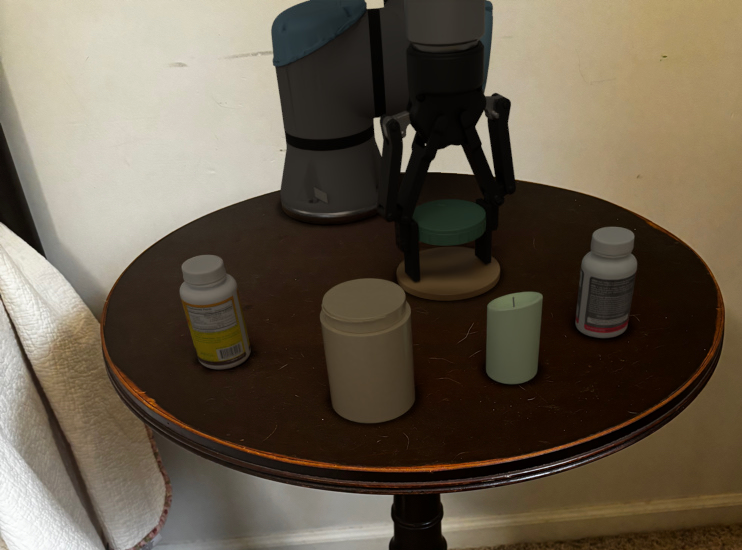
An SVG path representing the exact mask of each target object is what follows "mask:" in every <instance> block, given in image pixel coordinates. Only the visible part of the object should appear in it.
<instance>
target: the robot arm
mask: <svg viewBox="0 0 742 550" xmlns="http://www.w3.org/2000/svg"><path fill="white" fill-rule="evenodd" d="M382 2H383V6H382V7H375V8H367V7H368V6H367V5H368V4H367V2H366V0H305V1H302V2H300V3H297V4H295V5H292V6H290V7H288V8H285V9H284V10H283V11H282V12H280V13H279V14H278V15H277V16H276V17H275V18H274V20H273V22H272V25H271V28H270V36H271V44H272V55H273V57H272V65H273V67H274V69H275V75H276V81H277V88H278V96H279V102H280V110H281V116H282V117H281V118H282V123H283V130H284V137H285V144H286V146H285V147H286V149H285V155H284V156H285V157H284V163H283V170H282V176H281V183H280V190H279V191H280V192H279V193H280V195H279V196H280V203H281V209H282V212H284V214H286V215H287V216H288V217H290V218H292V219H294V220H297V221H300V222H304V223H309V224H315V225H316V224H317V225H335V224H336V225H338V224H347V223H353V222H357V221H362V220H365V219H368V218H371V217H373V216H376V215H379V216H380V217H381V218H382V219H383V220H384V221H386V223H394V234H395V235H394V236H395V245H396V248H397V249H398V250H399V251H400V252H402V253H403V260H404V265H405V273H406V274H407V275H408V276H409V277H410V278H411V279H412V280H413V281H414V282H416V281H420V257H419V252H420V241H419V232H418V223H417V222H416V221H415V220H414V219H413V218H412V216H413V213H414V210H415V208H416V207H417V206H418V205H417V204H418V201H419V198H420V196H421V193H422V190H423V187H424V184H425V180H426V178H427V176H428V172H429V169H430V166H431V163H432V162H433V161H434V160H435V159H436V156H437V153H438V151H439V150H440V151H441V150H444V149H445V148H447V147H450V146H456V147H458V146H461V149H462V150H463V152H464V155H465V157H466V160H467V162H468V164H469V167H470V169H471V172H472V174H473V176H474V179H475V181H476V184H477V187H478V189H479V191H480V194H481V195H482V196H483V198H482V197H480V198H476V199H475V202H474V203H476V204H478V205H479V206H481V207H482V208H483V209H484V210H485V212H486V231H485V232H484V233H483V235H482V236H480V237H479V238H477V239H476V240H474V249H475V256H476V257H478V258H479V259H480V260H481V261H482V262H484V263H485V264H488V263H491V256H492V249H493V248H492V246H493V232H494V231H497V230H498V228H499V216H500V207H502V206H503V205H504V203H505V201H506V198H505V197H506V196H507V195H509V196H511V195H513V194H514V193H515V192H516V191H517V184H516V176H515V167H514V160H513V152H512V144H511V143H512V142H511V136H510V127H509V120H510V114H511V109H512V100H510V99H509V98H507V97H506V96H503V95H502V94H501V93H497V92H493V93H492V94H491V95H485V92H486V88H487V83H488V77H489V70H490V63H491V61H490V60H491V52H492V41H493V28H494V11H493V10H494V5H493V3H492V1H491V0H382ZM483 113H484V116H485V117H486V119H487V121H486V122H487V130H488V136H489V145H490V151H491V157H492V165H493V172H494V173H493V172H492V169H491V166H490V164H489V161H488V159H487V157H486V154H485V151H484V149H483V147H482V145H483V142H482V140H481V138H480V134H479V133H478V132H479V131H478V130H477V128H476V127H477V124H478V122H479V121H480V119H481V117H482V116H483ZM374 119H379V127H380V131H381V136H382V139H383V140H382V149H381V150H382V151H381V152H380V148H379V146H378V144H377V141H376V133H375V123H374V121H375V120H374ZM408 126H411V127H412V129H413V130H414V131H415V133H414V136H413V139H412V142H411V147H410V148H411V153H410V156H409V159H408V162H407V165H406V168H405V171H404V173H403V178H402V181H401V171H402V163H403V154H404V141H403V140H404V139H405V138H406V137H407V130H408ZM400 181H401V183H400Z"/></svg>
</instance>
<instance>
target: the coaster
mask: <svg viewBox="0 0 742 550" xmlns="http://www.w3.org/2000/svg"><path fill="white" fill-rule="evenodd" d="M419 257H420V281H416V282H414V281H413V280H412V279H411V278H410V277H409V276H408V275H407V274H406V273H405V265H404V259H403V260H402V261H401V262H400V263H399V265H398V266H397V268H396V281H397V283H398V284H397V285H399V286H400V287H401V288H402V289H403V290H404V292H405V293H408V294H409V295H412V296H414V297H417V298H421V299H424V300H429V301H437V302H438V301H440V302H452V301H462V300H467V299H472V298H475V297H478V296H482V295H483V294H485V293H487V292H489V291H490V290H491V289H493V288H494V287H496V285H497V284H498V283H499V281H500V277H501V266H500V263H499V261H498V260H497V259H496V258H495V257H493V256H492V255H491V263H488V264H485V263H484V262H482V261H481V260H480V259H479V258H478V257H476V256H475V248H471V247H466V246H465V247H464V246H439V247H431V248H427V249H424V250H419Z"/></svg>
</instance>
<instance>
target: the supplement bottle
mask: <svg viewBox="0 0 742 550" xmlns="http://www.w3.org/2000/svg"><path fill="white" fill-rule="evenodd" d="M181 272H182V279H183V282H182V283H181V285H180V286H179V297H180V300H181V304H182V308H183V310H184V315H185V318H186V321H187V325H188V329H189V332H190V336H191V340H192V343H193V347H194V350H195V353H196V357H197V360H198V362H199V363H200V364H201V365H202V366H203V367H205V368H208V369H212V370H227V369H232V368H235V367H237V366H239V365H241V364H243V363H244V362H246V361H247V360H248V359H249V357H250V355H251V353H252V352H251V350H252V348H251V343H250V338H249V334H248V330H247V325H246V320H245V319H246V318H245V314H244V309H243V306H242V301H241V296H240V292H239V287H238V283H237V280H236V278H234V277H233V275H231V274H229V273H227V269H226V267H225V263H224V260H223V258H222V257H221V256H218V255H215V254H201V255H195V256H192V257H191V258H188V259H186V260H185V261H184V262H183V263H182V264H181Z"/></svg>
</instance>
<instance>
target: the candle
mask: <svg viewBox="0 0 742 550" xmlns="http://www.w3.org/2000/svg"><path fill="white" fill-rule="evenodd" d="M543 301H544V297H543V294H542V293H540V292H538V291H521V292H514V293H509V294H505V295H502V296H499V297H497V298H495V299H492V300H491V301H490V302H488V304H487V306H486V343H485V344H486V345H485V346H486V348H485V349H486V350H485V373H486V374H487V376H488V377H489V378H490V379H492V380H493V381H495V382H497V383H500V384H505V385H519V384H523V383H526V382H528V381H531V380H532V379H534V377H535V376H536V375H537V373H538V366H539V353H540V341H541V339H540V338H541V328H542V327H541V326H542V315H543V314H542V313H543Z"/></svg>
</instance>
